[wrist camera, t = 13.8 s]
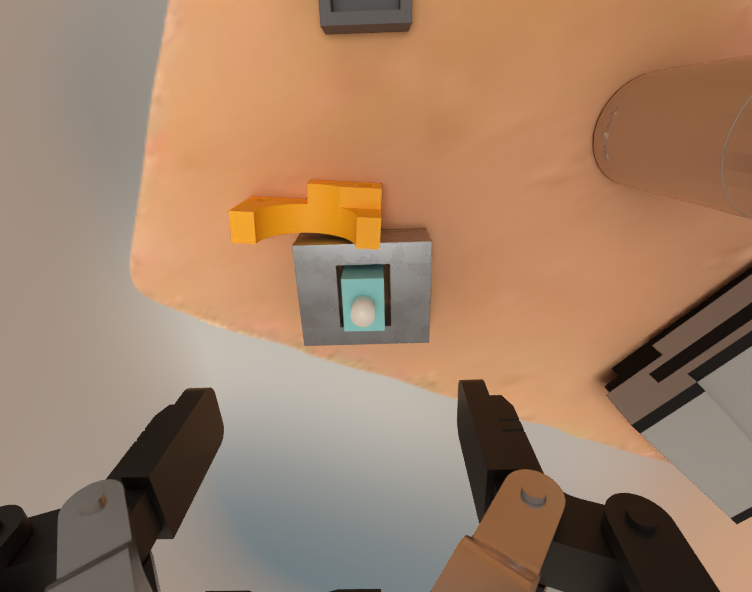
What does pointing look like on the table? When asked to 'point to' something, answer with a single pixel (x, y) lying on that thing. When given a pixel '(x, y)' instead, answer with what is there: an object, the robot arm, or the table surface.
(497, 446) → the robot arm
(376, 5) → the grey rectangular frame
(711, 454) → the game console
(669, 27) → the table surface
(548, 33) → the table surface
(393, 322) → the switch housing
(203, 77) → the table surface
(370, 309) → the plug
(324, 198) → the pipe clamp
